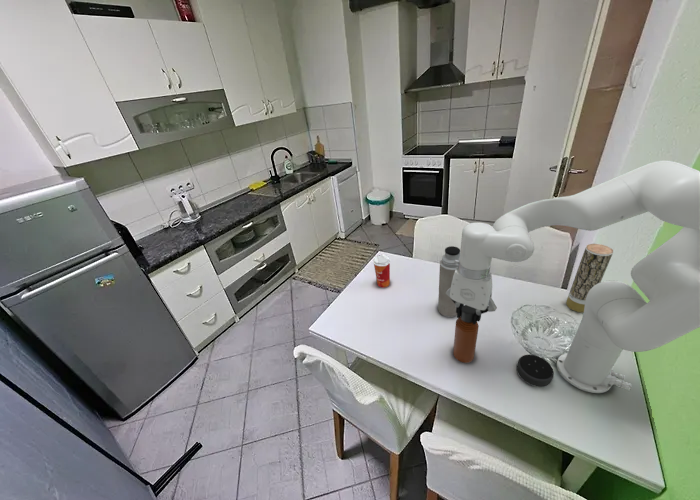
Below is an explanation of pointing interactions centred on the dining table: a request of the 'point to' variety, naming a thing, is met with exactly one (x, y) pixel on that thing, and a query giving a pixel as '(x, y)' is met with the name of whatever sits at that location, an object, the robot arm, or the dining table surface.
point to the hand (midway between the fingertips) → (467, 317)
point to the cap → (467, 313)
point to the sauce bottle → (465, 340)
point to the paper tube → (588, 274)
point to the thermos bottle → (447, 281)
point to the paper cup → (382, 270)
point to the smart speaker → (535, 370)
